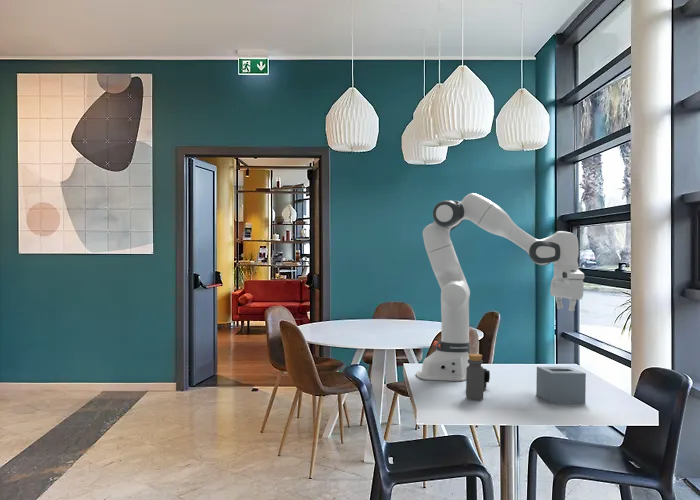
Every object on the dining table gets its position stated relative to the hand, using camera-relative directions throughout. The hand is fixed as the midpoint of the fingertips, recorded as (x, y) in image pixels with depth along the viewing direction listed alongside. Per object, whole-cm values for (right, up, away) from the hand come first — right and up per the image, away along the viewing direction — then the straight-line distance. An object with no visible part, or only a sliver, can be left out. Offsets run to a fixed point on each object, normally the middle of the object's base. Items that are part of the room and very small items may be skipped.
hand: (565, 309), depth 223 cm
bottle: (-40, -28, -23) cm, 54 cm away
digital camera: (-35, -29, -8) cm, 46 cm away
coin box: (-10, -29, -21) cm, 37 cm away
